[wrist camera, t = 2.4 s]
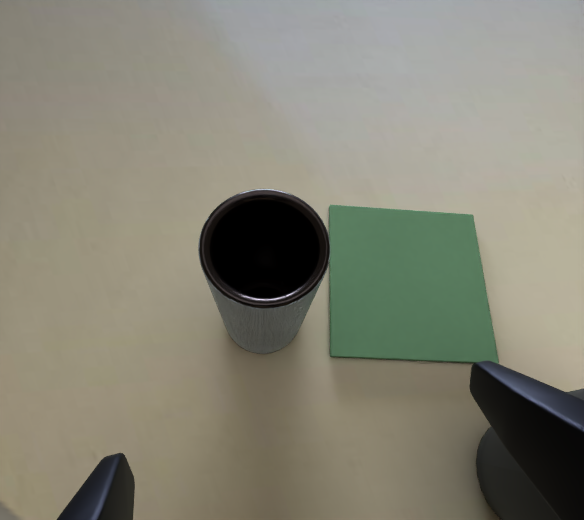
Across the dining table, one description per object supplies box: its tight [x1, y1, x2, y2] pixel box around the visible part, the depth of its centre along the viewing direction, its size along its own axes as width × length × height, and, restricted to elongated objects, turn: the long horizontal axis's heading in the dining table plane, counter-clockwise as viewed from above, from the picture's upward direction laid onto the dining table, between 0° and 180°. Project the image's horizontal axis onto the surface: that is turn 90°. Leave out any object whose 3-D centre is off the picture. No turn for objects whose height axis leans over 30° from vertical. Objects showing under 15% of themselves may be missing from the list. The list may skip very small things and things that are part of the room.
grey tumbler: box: [199, 189, 330, 354], centre depth 17 cm, size 4×4×10 cm
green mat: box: [329, 205, 499, 364], centre depth 24 cm, size 10×10×1 cm
